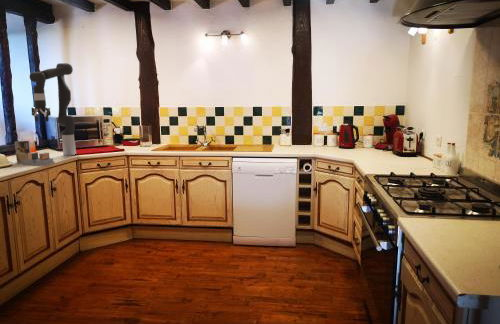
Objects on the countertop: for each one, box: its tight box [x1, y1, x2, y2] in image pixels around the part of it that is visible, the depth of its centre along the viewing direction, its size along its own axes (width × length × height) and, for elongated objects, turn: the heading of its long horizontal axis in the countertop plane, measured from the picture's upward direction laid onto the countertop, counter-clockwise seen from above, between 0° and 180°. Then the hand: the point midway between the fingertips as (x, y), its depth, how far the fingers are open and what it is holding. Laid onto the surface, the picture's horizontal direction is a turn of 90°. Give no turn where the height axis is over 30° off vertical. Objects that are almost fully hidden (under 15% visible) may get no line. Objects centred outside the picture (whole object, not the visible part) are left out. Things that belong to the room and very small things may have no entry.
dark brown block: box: [38, 151, 51, 160], centre depth 270 cm, size 4×6×7 cm, turn 169°
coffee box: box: [14, 140, 32, 164], centre depth 275 cm, size 9×6×16 cm
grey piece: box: [22, 151, 56, 166], centre depth 271 cm, size 11×17×8 cm, turn 79°
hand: (41, 121), depth 280 cm, fingers open, 8 cm apart
